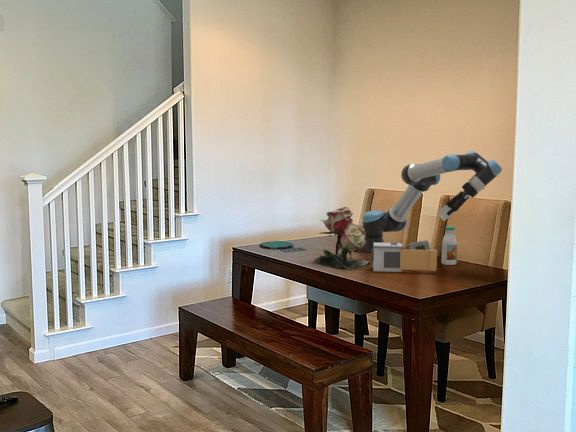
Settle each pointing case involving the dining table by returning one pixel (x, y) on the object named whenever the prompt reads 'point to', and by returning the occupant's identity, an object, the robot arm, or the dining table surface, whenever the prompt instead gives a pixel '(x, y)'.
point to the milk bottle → (449, 247)
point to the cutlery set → (280, 245)
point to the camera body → (386, 257)
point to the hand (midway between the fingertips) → (440, 217)
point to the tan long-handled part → (418, 259)
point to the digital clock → (419, 245)
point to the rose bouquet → (343, 240)
